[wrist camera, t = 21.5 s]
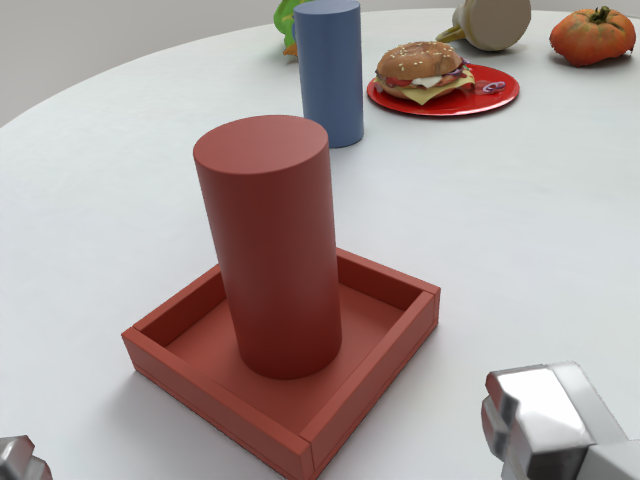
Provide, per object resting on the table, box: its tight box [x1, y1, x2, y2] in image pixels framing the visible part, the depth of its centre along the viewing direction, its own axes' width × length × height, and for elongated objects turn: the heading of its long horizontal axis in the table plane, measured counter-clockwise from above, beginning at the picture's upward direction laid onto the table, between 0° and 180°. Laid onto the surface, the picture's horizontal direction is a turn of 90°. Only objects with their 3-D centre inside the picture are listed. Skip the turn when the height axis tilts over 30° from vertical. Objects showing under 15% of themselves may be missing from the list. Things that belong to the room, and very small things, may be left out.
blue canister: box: [293, 0, 364, 148], centre depth 41 cm, size 5×5×10 cm
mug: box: [436, 0, 531, 51], centre depth 59 cm, size 8×10×10 cm
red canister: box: [193, 115, 342, 380], centre depth 22 cm, size 5×5×10 cm
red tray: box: [121, 247, 441, 480], centre depth 24 cm, size 10×10×2 cm
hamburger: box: [367, 40, 520, 115], centre depth 48 cm, size 14×14×6 cm
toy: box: [274, 0, 315, 57], centre depth 62 cm, size 14×9×10 cm, turn 178°
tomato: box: [549, 6, 636, 68], centre depth 54 cm, size 8×7×7 cm
